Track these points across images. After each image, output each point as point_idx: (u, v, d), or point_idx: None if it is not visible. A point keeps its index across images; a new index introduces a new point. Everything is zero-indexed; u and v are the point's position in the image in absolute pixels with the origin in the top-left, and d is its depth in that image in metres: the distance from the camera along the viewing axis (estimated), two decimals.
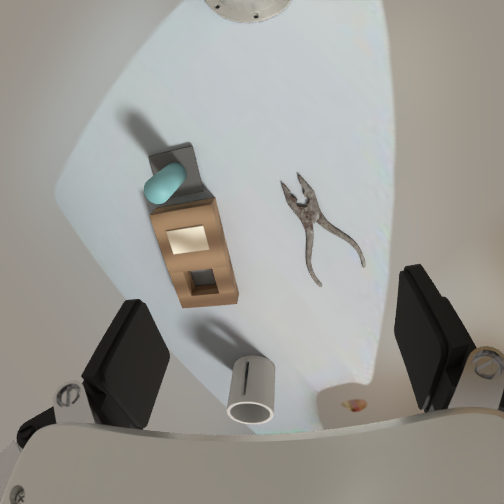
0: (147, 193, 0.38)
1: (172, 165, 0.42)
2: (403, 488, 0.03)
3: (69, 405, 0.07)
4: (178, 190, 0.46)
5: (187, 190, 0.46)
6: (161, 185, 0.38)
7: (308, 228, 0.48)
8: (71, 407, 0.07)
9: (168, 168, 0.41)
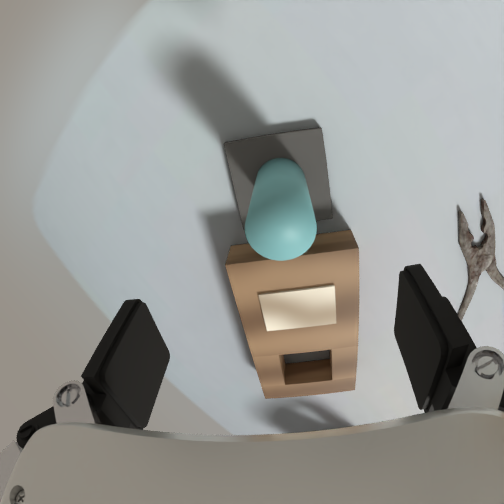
0: (253, 234, 0.16)
1: (286, 164, 0.20)
2: (403, 488, 0.03)
3: (69, 405, 0.07)
4: None
5: None
6: (295, 217, 0.15)
7: (474, 279, 0.25)
8: (71, 407, 0.07)
9: (286, 171, 0.19)
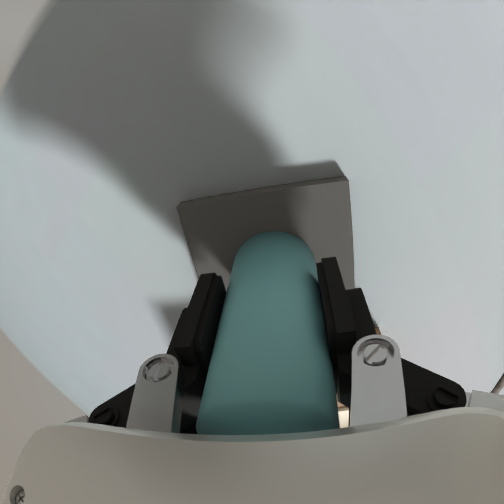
0: None
1: (283, 254, 0.11)
2: (403, 488, 0.03)
3: (155, 380, 0.08)
4: None
5: None
6: (299, 425, 0.06)
7: None
8: (155, 384, 0.07)
9: (283, 281, 0.10)
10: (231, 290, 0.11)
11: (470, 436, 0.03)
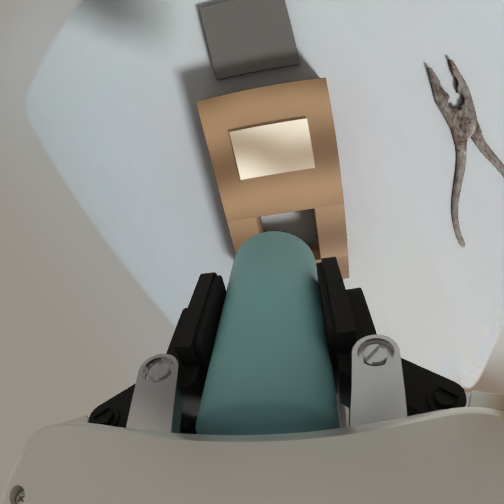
0: None
1: (283, 254, 0.11)
2: (403, 488, 0.03)
3: (155, 380, 0.08)
4: (253, 62, 0.22)
5: (271, 61, 0.22)
6: (299, 425, 0.06)
7: (461, 146, 0.24)
8: (155, 384, 0.07)
9: (283, 281, 0.10)
10: (231, 290, 0.11)
11: (470, 436, 0.03)
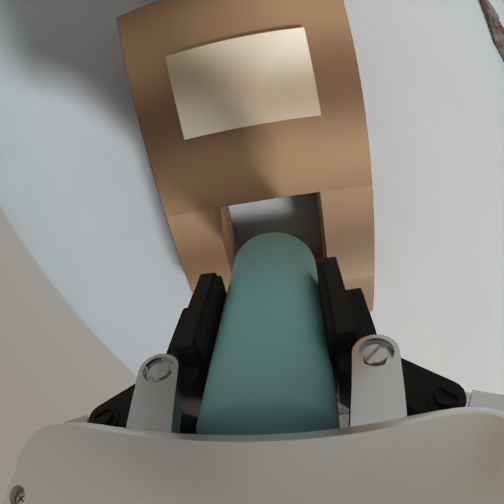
0: None
1: (284, 256, 0.11)
2: (403, 488, 0.03)
3: (155, 380, 0.08)
4: None
5: None
6: (299, 426, 0.06)
7: None
8: (155, 384, 0.07)
9: (283, 282, 0.10)
10: (231, 291, 0.11)
11: (470, 436, 0.03)
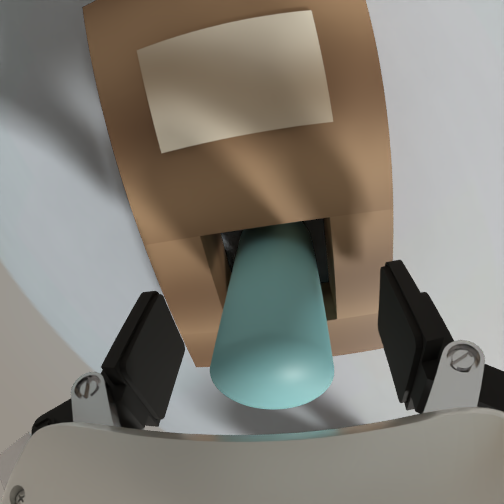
0: (226, 381, 0.09)
1: (284, 230, 0.13)
2: (403, 488, 0.03)
3: (87, 397, 0.07)
4: None
5: None
6: (299, 362, 0.08)
7: None
8: (89, 399, 0.07)
9: (283, 249, 0.12)
10: (238, 259, 0.12)
11: (470, 436, 0.03)
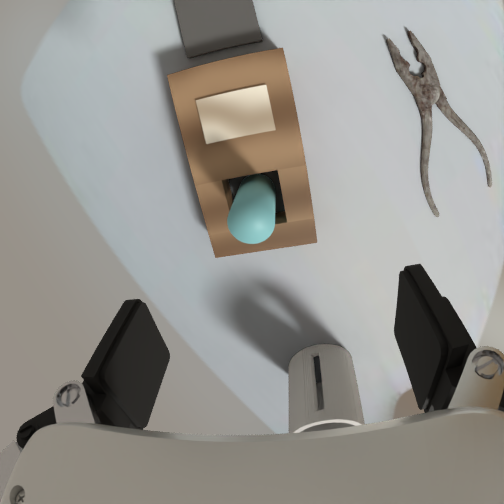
0: (233, 226, 0.24)
1: (259, 178, 0.28)
2: (403, 488, 0.03)
3: (69, 405, 0.07)
4: (220, 40, 0.23)
5: (235, 39, 0.23)
6: (260, 213, 0.23)
7: (426, 112, 0.25)
8: (71, 407, 0.07)
9: (257, 183, 0.27)
10: (238, 190, 0.27)
11: (470, 436, 0.03)
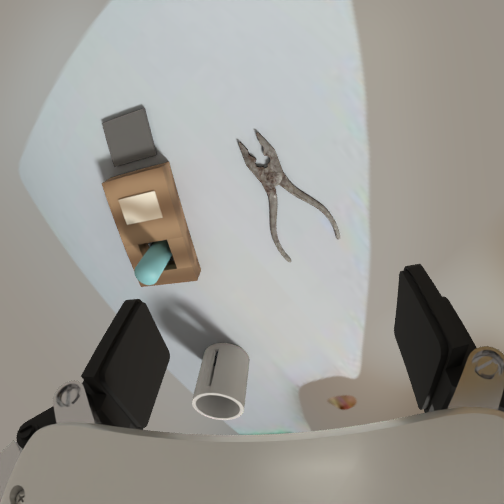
0: (138, 275, 0.42)
1: (160, 242, 0.46)
2: (403, 488, 0.03)
3: (69, 405, 0.07)
4: (131, 156, 0.41)
5: (140, 155, 0.41)
6: (150, 270, 0.41)
7: (270, 192, 0.43)
8: (71, 407, 0.07)
9: (156, 247, 0.45)
10: (147, 250, 0.45)
11: (470, 436, 0.03)
